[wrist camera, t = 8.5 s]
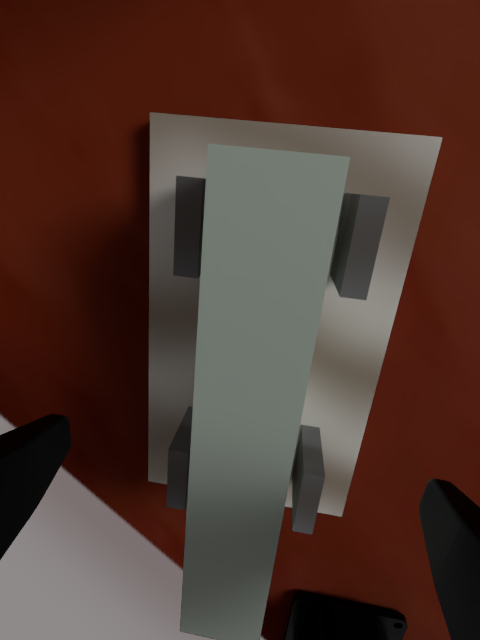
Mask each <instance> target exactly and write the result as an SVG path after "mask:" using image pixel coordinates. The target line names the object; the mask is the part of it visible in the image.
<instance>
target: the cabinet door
mask: <svg viewBox="0 0 480 640" xmlns="http://www.w3.org/2000/svg"><path fill="white" fill-rule="evenodd" d="M349 162H350V157H347V156H336V155H326V154H315V153H304V152H293V151H283V150H272V149H261V148H251V147H240V146H229V145H219V144H208V152H207V169H206V187H205V204H204V221H203V239H202V256H201V273H200V291H199V308H198V325H197V343H196V360H195V377H194V394H193V412H192V429H191V446H190V464H189V481H188V498H187V516H186V533H185V550H184V568H183V585H182V586H183V587H182V603H181V620H180V631H181V632H185V633H189V634H194V635H198V636H203V637H208V638H212V639H217V640H260V635H261V630H262V625H263V619H264V614H265V609H266V603H267V598H268V593H269V587H270V582H271V577H272V571H273V566H274V561H275V556H276V550H277V545H278V540H279V534H280V529H281V524H282V518H283V513H284V508H285V502H286V497H287V492H288V486H289V481H290V476H291V470H292V465H293V460H294V454H295V449H296V444H297V439H298V433H299V428H300V423H301V417H302V412H303V407H304V401H305V396H306V391H307V385H308V380H309V375H310V369H311V364H312V359H313V353H314V348H315V343H316V337H317V332H318V327H319V322H320V316H321V311H322V306H323V300H324V295H325V290H326V284H327V279H328V274H329V268H330V263H331V258H332V252H333V247H334V242H335V236H336V231H337V226H338V220H339V215H340V210H341V205H342V199H343V194H344V189H345V183H346V178H347V173H348V167H349Z"/></svg>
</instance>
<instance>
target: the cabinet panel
mask: <svg viewBox="0 0 480 640" xmlns="http://www.w3.org/2000/svg"><path fill="white" fill-rule="evenodd" d="M442 138H443V137H432V136H421V135H409V134H397V133H386V132H374V131H362V130H350V129H339V128H327V127H315V126H304V125H292V124H280V123H269V122H257V121H245V120H234V119H222V118H210V117H198V116H187V115H175V114H163V113H152V112H150V216H149V425H148V481H151V482H157V483H162V484H167V504H166V507H170V508H176V509H181V510H185V508H186V505H187V498H188V481H189V464H190V446H191V429H192V412H193V394H194V377H195V360H196V343H197V325H198V308H199V291H200V273H201V256H202V239H203V221H204V204H205V187H206V169H207V152H208V144H219V145H229V146H240V147H251V148H261V149H272V150H283V151H293V152H304V153H315V154H326V155H336V156H347V157H350V162H349V167H348V173H347V178H346V183H345V189H344V194H343V199H342V205H341V210H340V215H339V220H338V226H337V231H336V236H335V242H334V247H333V252H332V258H331V263H330V268H329V274H328V279H327V284H326V290H325V295H324V300H323V306H322V311H321V316H320V322H319V327H318V332H317V337H316V343H315V348H314V353H313V359H312V364H311V369H310V375H309V380H308V385H307V391H306V396H305V401H304V407H303V412H302V417H301V423H300V428H299V433H298V439H297V444H296V449H295V454H294V460H293V465H292V470H291V476H290V481H289V486H288V492H287V497H286V502H285V506H286V507H292V531H296V532H301V533H307V534H312V532H313V528H314V524H315V519H316V515H317V512H319V513H324V514H330V515H335V516H341V517H342V513H343V509H344V506H345V502H346V498H347V494H348V491H349V487H350V483H351V479H352V476H353V472H354V468H355V464H356V461H357V457H358V453H359V449H360V446H361V442H362V438H363V434H364V430H365V427H366V423H367V419H368V415H369V412H370V408H371V404H372V400H373V397H374V393H375V389H376V385H377V382H378V378H379V374H380V370H381V367H382V363H383V359H384V355H385V352H386V348H387V344H388V340H389V337H390V333H391V329H392V325H393V322H394V318H395V314H396V310H397V307H398V303H399V299H400V295H401V292H402V288H403V284H404V280H405V277H406V273H407V269H408V265H409V261H410V258H411V254H412V250H413V246H414V243H415V239H416V235H417V231H418V228H419V224H420V220H421V216H422V213H423V209H424V205H425V201H426V198H427V194H428V190H429V186H430V183H431V179H432V175H433V171H434V168H435V164H436V160H437V156H438V153H439V149H440V145H441V141H442Z"/></svg>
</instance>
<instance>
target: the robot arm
mask: <svg viewBox="0 0 480 640" xmlns="http://www.w3.org/2000/svg"><path fill="white" fill-rule="evenodd" d="M70 446H71V436H70V426H69V419H68V418H67V417H66V416H63V415H57V414H50V415H47V416H45V417H42V418H40V419H38V420H35V421H33V422H31V423H28V424H26V425H23V426H21V427H19V428H16V429H14V430H11V431H9V432H7V433H4V434H2V435H0V560H1V558H2V557H3V555H4V554H5V552H6V551H7V549H8V548H9V547H10V545H11V544H12V542H13V541H14V539H15V538H16V536H17V535H18V533H19V532H20V531H21V529H22V528H23V526H24V525H25V524H26V522H27V521H28V519H29V518H30V517H31V515H32V513H33V512H34V510H35V509H36V508H37V506H38V504H39V502H40V501H41V499H42V497H43V496H44V494H45V492H46V490H47V489H48V487H49V485H50V483H51V482H52V480H53V478H54V476H55V475H56V473H57V471H58V469H59V468H60V466H61V464H62V462H63V460H64V459H65V457H66V455H67V453H68V451H69V449H70ZM419 514H420V519H421V524H422V529H423V533H424V538H425V543H426V548H427V553H428V557H429V562H430V567H431V572H432V576H433V581H434V585H435V588H436V592H437V595H438V599H439V602H440V605H441V608H442V611H443V615H444V618H445V621H446V624H447V627H448V631H449V634H450V637H451V640H480V507H479V506H477V505H476V504H475V503H474V502H473V501H472V500H471V499H469V498H468V497H467V496H466V495H465V494H464V493H463V492H461V491H460V490H459V489H458V488H457V487H456V486H454V485H453V484H452V483H451V482H449V481H446V480H440V479H430V480H429V481H428V483H427V486H426V488H425V491H424V494H423V497H422V499H421V502H420V506H419ZM406 629H407V622H406V618H405V616H404V615H403V614H402V613H399V612H394V611H390V610H385V609H380V608H375V607H370V606H365V605H360V604H356V603H351V602H346V601H341V600H336V599H331V598H327V597H322V596H317V595H312V594H307V593H301V592H299V593H296V594H294V596H293V600H292V605H291V609H290V614H289V618H288V623H287V627H286V631H285V636H284V640H402V639H403V636H404V634H405V631H406Z"/></svg>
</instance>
